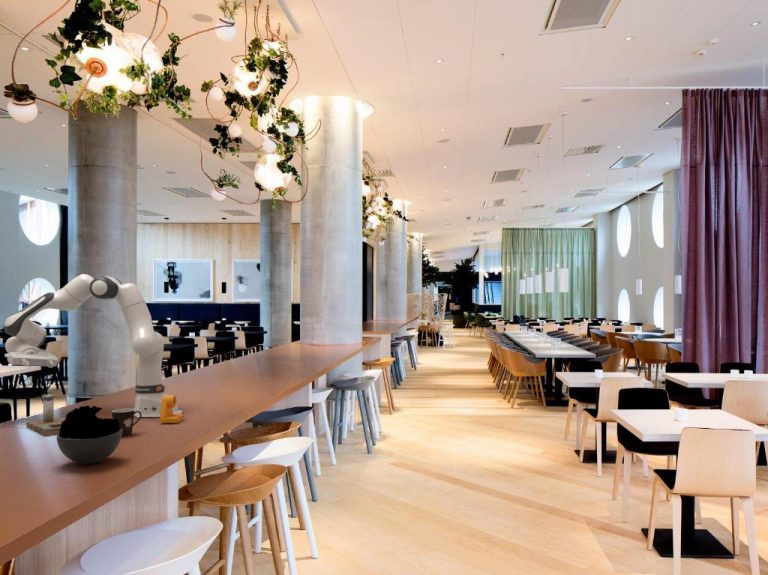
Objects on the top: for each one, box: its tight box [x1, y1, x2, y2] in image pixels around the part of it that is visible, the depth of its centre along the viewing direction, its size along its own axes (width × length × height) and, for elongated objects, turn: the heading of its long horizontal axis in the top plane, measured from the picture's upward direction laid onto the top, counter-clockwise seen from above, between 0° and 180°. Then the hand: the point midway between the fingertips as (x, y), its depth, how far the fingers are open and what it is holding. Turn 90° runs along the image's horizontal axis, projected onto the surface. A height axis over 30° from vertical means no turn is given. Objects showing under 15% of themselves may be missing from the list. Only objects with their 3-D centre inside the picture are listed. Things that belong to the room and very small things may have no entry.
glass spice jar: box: [41, 393, 56, 422], centre depth 268 cm, size 5×5×11 cm
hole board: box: [25, 417, 66, 437], centre depth 263 cm, size 24×14×3 cm, turn 45°
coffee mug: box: [111, 407, 142, 437], centre depth 252 cm, size 12×9×10 cm
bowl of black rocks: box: [56, 405, 123, 465], centre depth 210 cm, size 20×20×19 cm
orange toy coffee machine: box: [159, 394, 185, 424], centre depth 278 cm, size 11×7×12 cm, turn 179°
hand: (40, 365), depth 275 cm, fingers open, 8 cm apart
